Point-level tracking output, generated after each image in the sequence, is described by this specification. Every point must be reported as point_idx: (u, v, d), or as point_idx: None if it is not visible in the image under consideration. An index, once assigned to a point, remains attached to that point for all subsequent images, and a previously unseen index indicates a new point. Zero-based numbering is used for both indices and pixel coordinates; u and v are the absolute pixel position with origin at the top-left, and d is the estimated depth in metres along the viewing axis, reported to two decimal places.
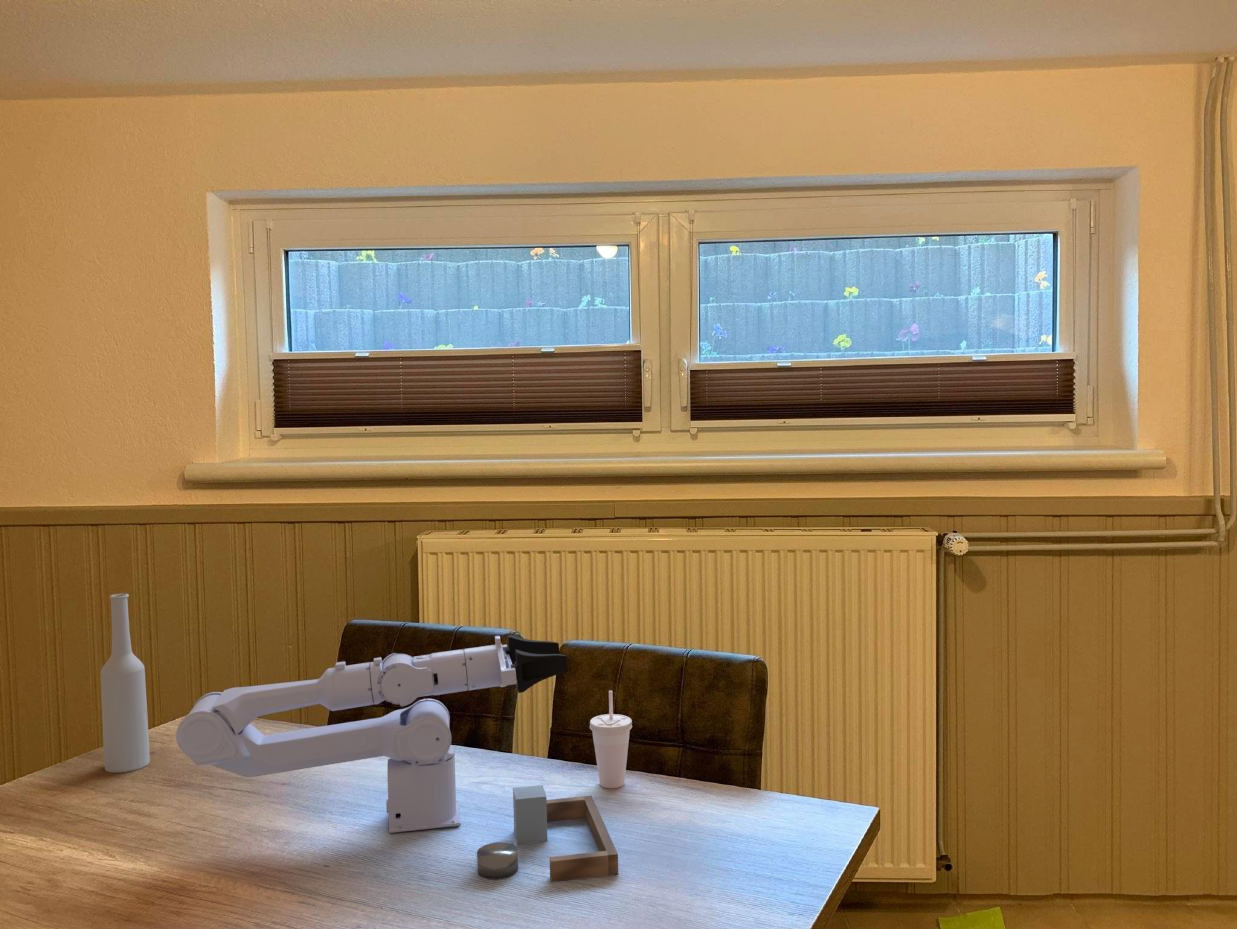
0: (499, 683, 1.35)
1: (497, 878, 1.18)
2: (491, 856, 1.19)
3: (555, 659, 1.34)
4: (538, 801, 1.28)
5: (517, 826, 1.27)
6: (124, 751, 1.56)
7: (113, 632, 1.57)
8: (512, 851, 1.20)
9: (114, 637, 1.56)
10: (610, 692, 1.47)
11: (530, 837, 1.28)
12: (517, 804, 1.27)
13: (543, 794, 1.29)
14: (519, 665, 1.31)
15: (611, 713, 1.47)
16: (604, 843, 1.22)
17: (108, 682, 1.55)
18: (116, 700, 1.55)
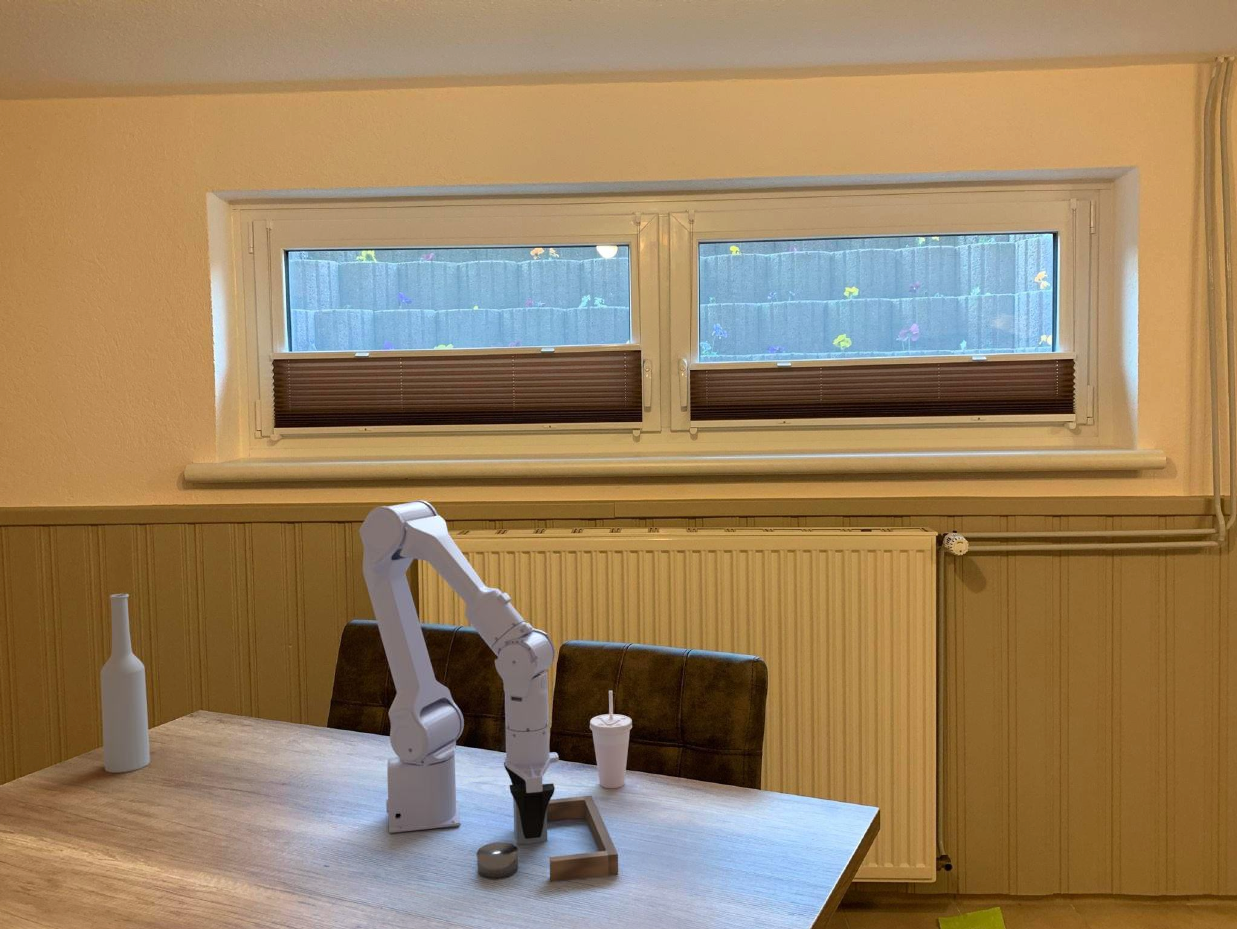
0: (513, 762, 1.27)
1: (497, 878, 1.18)
2: (491, 856, 1.19)
3: (538, 826, 1.26)
4: None
5: (517, 826, 1.27)
6: (124, 751, 1.56)
7: (113, 632, 1.57)
8: (512, 851, 1.20)
9: (114, 637, 1.56)
10: (610, 692, 1.47)
11: None
12: None
13: None
14: (542, 792, 1.24)
15: (611, 713, 1.47)
16: (604, 843, 1.22)
17: (108, 682, 1.55)
18: (116, 700, 1.55)
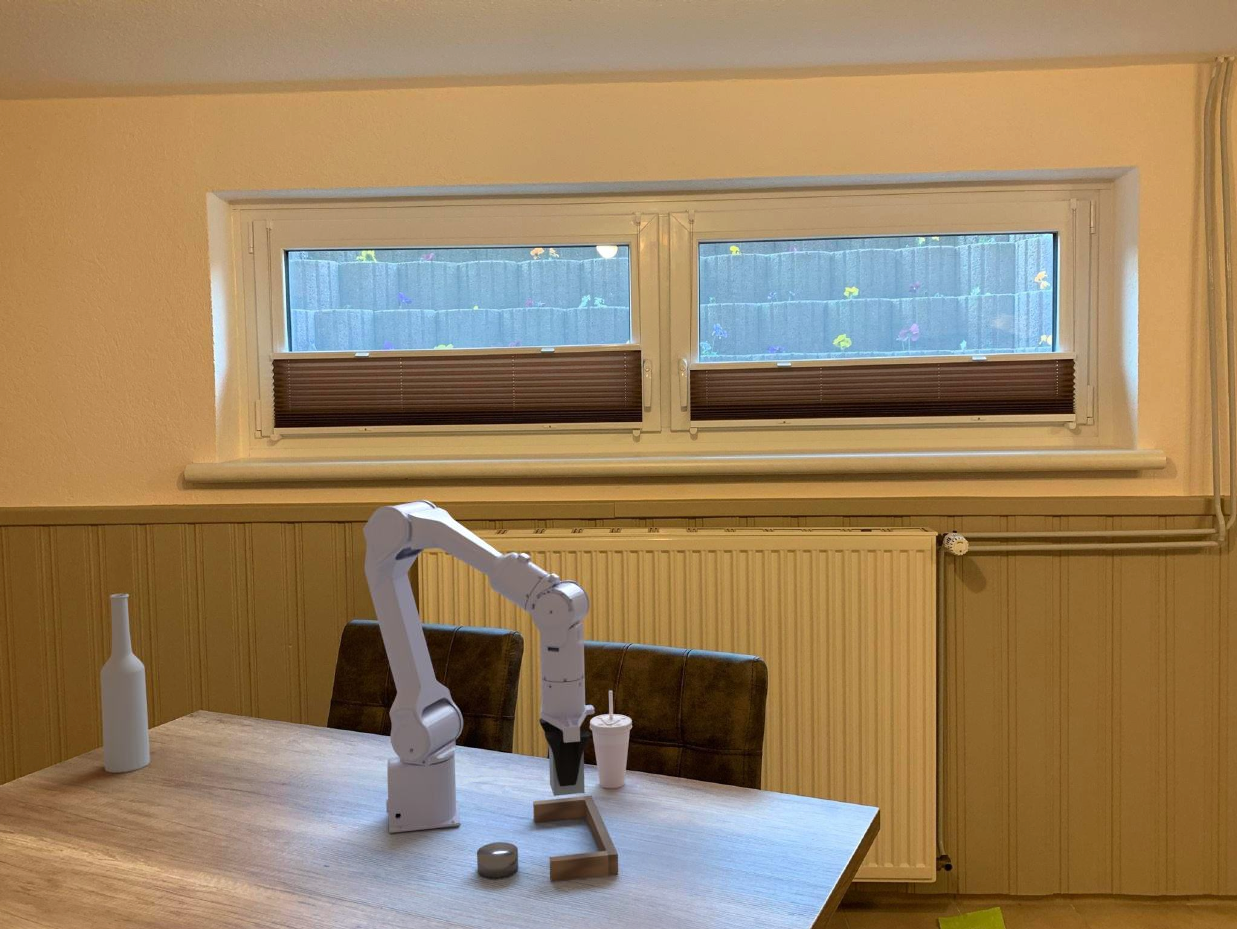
0: (549, 714, 1.25)
1: (497, 878, 1.18)
2: (491, 856, 1.19)
3: (573, 773, 1.26)
4: None
5: (554, 777, 1.26)
6: (124, 751, 1.56)
7: (113, 632, 1.57)
8: (512, 851, 1.20)
9: (114, 637, 1.56)
10: (610, 692, 1.47)
11: (567, 789, 1.26)
12: None
13: None
14: None
15: (611, 713, 1.47)
16: (604, 843, 1.22)
17: (108, 682, 1.55)
18: (116, 700, 1.55)
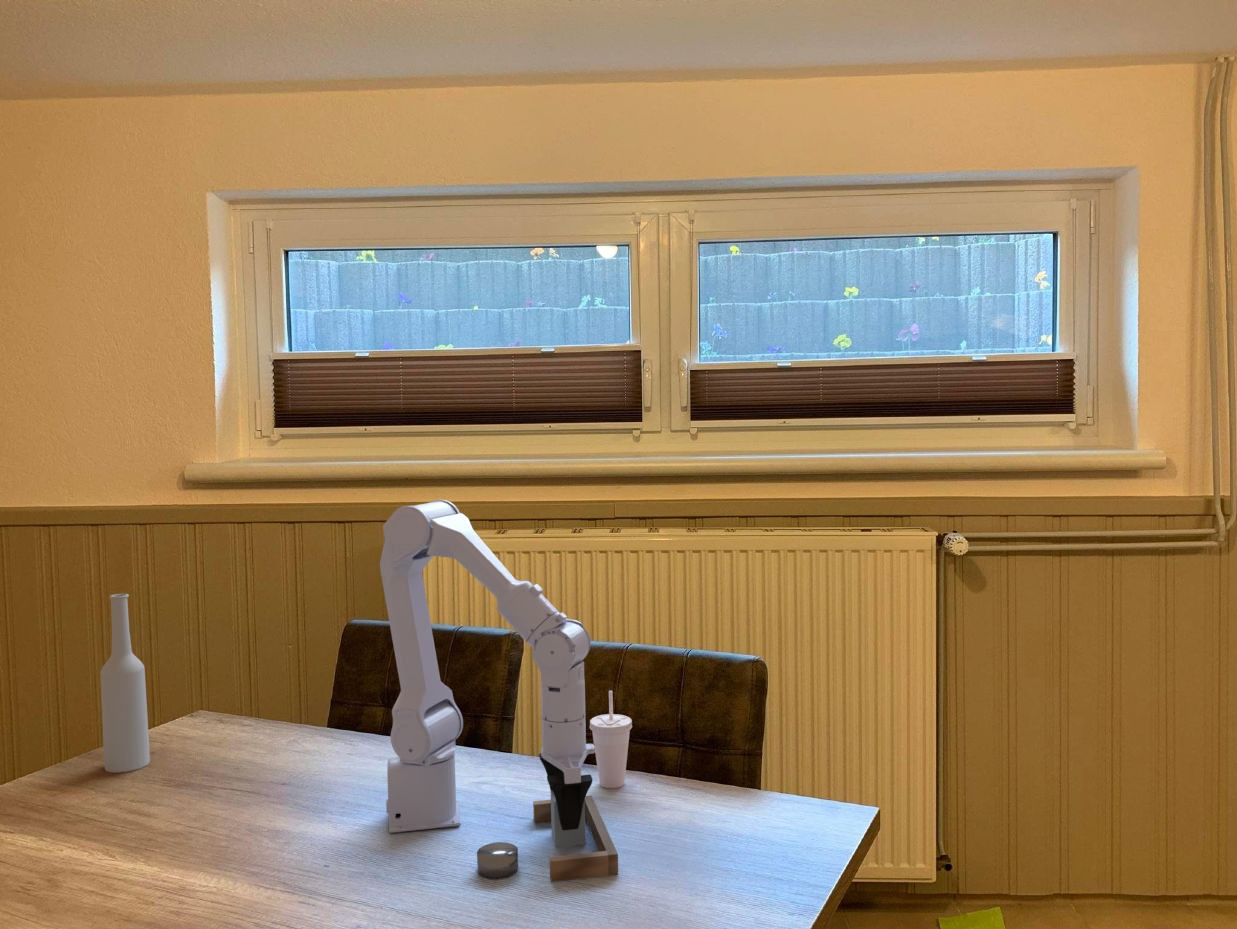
0: (550, 754, 1.26)
1: (497, 878, 1.18)
2: (491, 856, 1.19)
3: (576, 817, 1.25)
4: None
5: (555, 828, 1.26)
6: (124, 751, 1.56)
7: (113, 632, 1.57)
8: (512, 851, 1.20)
9: (114, 637, 1.56)
10: (610, 692, 1.47)
11: (568, 840, 1.27)
12: (555, 806, 1.26)
13: None
14: (580, 783, 1.23)
15: (611, 713, 1.47)
16: (604, 843, 1.22)
17: (108, 682, 1.55)
18: (116, 700, 1.55)
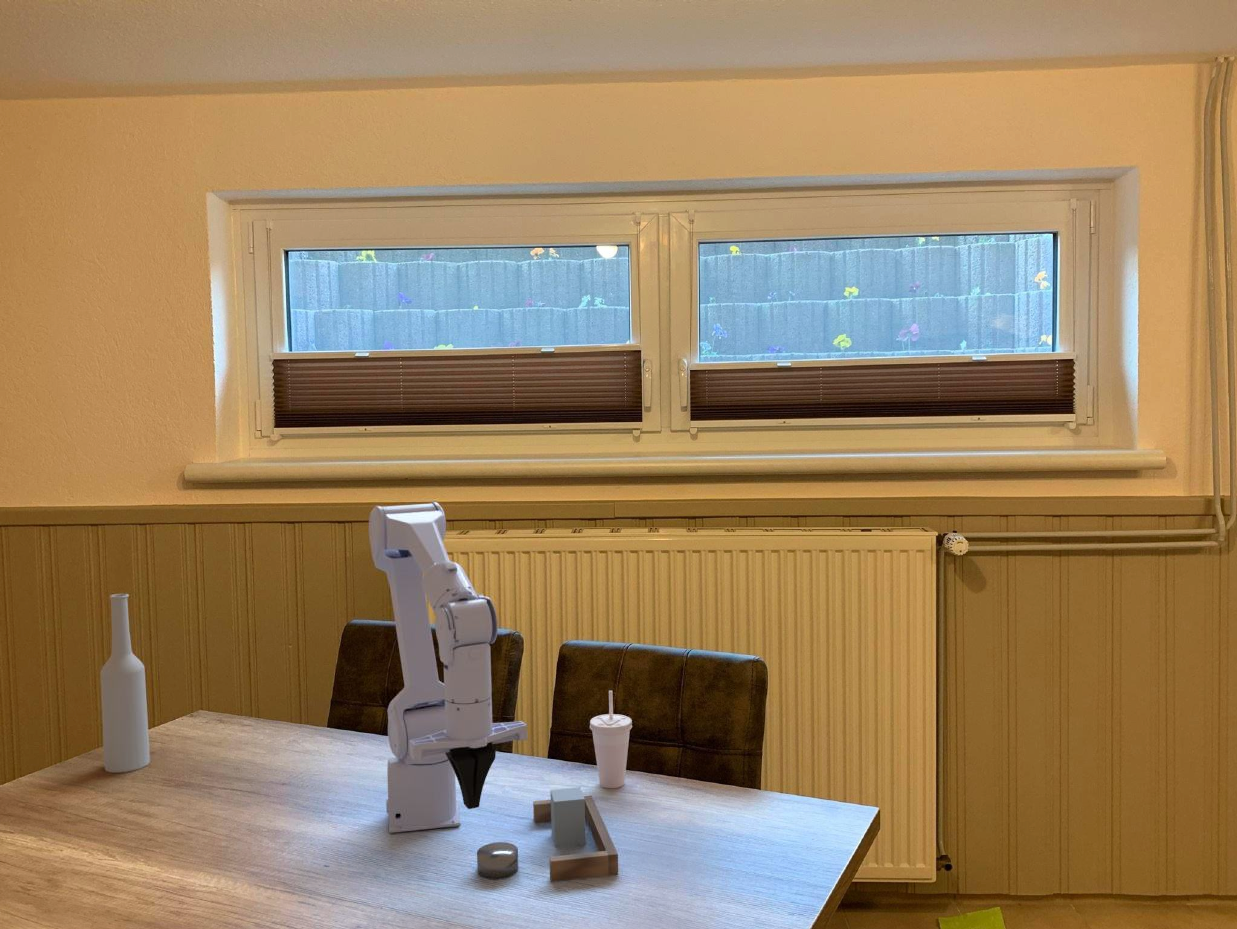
0: None
1: (497, 878, 1.18)
2: (491, 856, 1.19)
3: (466, 796, 1.20)
4: (576, 804, 1.27)
5: (555, 829, 1.26)
6: (124, 751, 1.55)
7: (113, 632, 1.57)
8: (512, 851, 1.20)
9: (114, 637, 1.56)
10: (610, 692, 1.47)
11: (568, 840, 1.27)
12: (555, 806, 1.26)
13: (581, 796, 1.28)
14: (452, 759, 1.18)
15: (611, 713, 1.47)
16: (604, 843, 1.22)
17: (108, 682, 1.55)
18: (116, 700, 1.55)
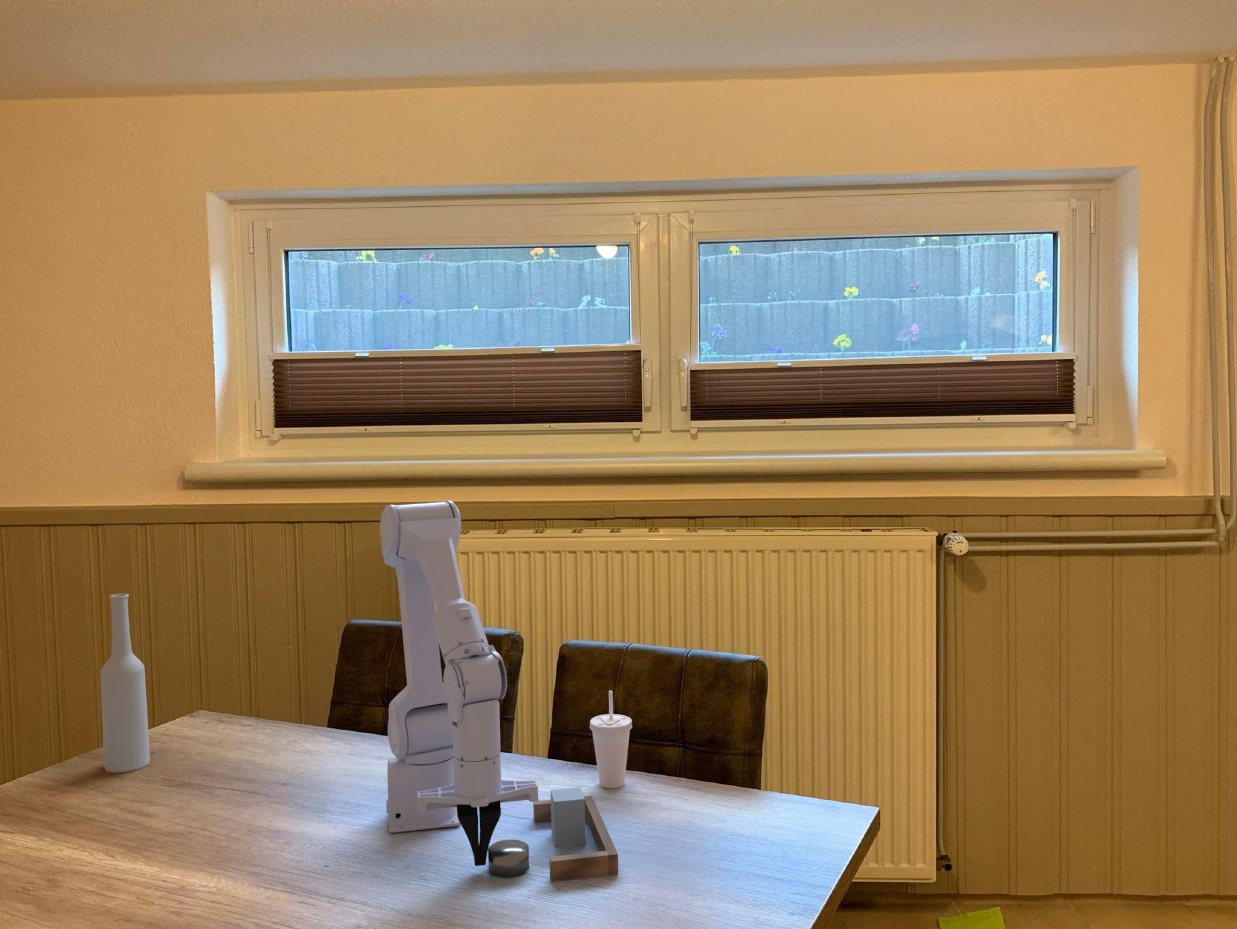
0: None
1: (508, 875, 1.18)
2: (502, 853, 1.19)
3: None
4: (576, 804, 1.27)
5: (555, 828, 1.26)
6: (124, 751, 1.55)
7: (113, 632, 1.57)
8: (523, 848, 1.20)
9: (114, 637, 1.56)
10: (610, 692, 1.47)
11: (568, 840, 1.27)
12: (555, 806, 1.26)
13: (581, 796, 1.28)
14: None
15: (611, 713, 1.47)
16: (604, 843, 1.22)
17: (108, 682, 1.55)
18: (116, 700, 1.55)
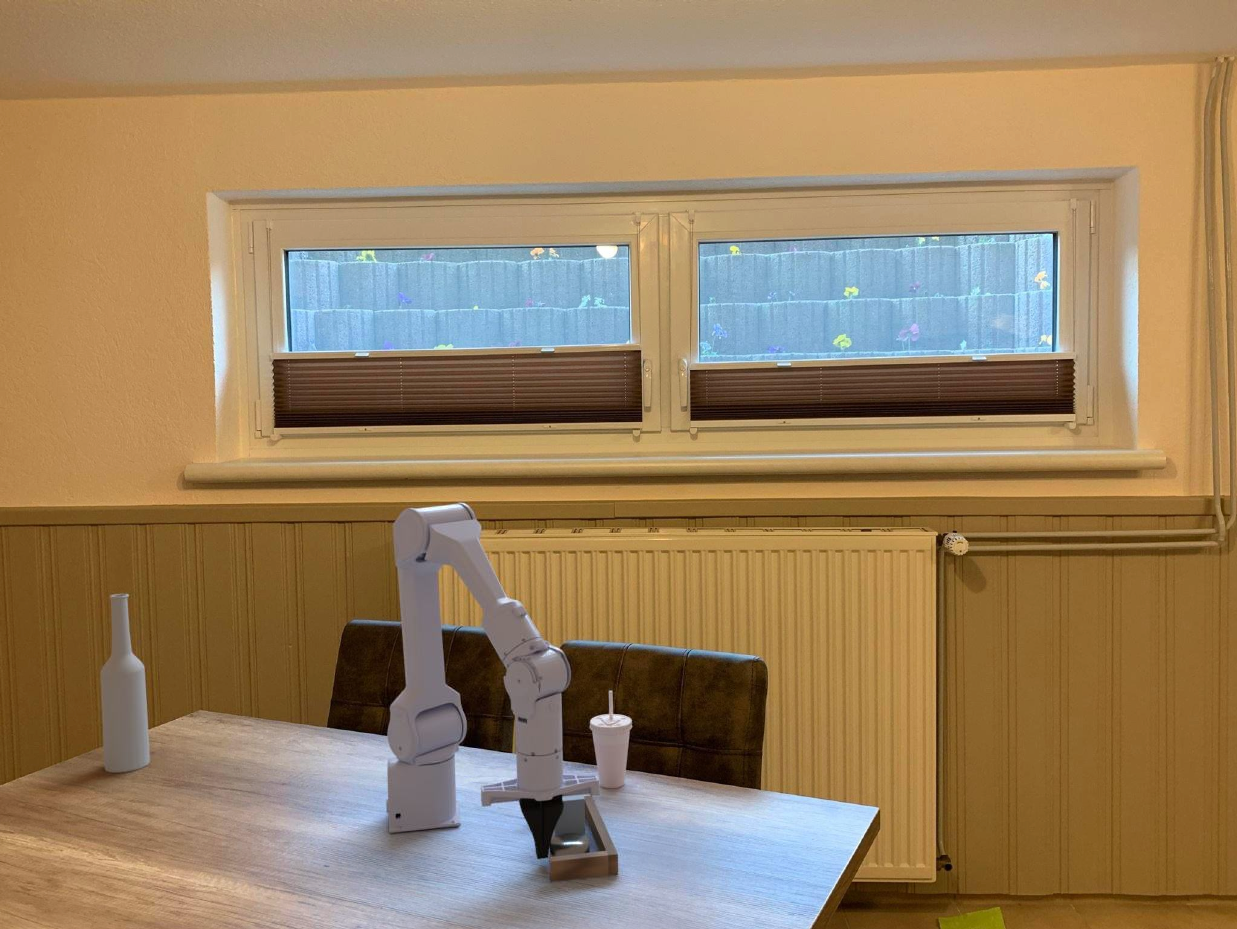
0: None
1: None
2: (564, 846, 1.21)
3: (536, 846, 1.20)
4: (576, 804, 1.27)
5: (555, 828, 1.26)
6: (124, 751, 1.55)
7: (113, 632, 1.57)
8: (584, 841, 1.22)
9: (114, 637, 1.56)
10: (610, 692, 1.47)
11: None
12: None
13: (581, 796, 1.28)
14: None
15: (611, 713, 1.47)
16: (604, 843, 1.22)
17: (108, 682, 1.55)
18: (116, 700, 1.55)
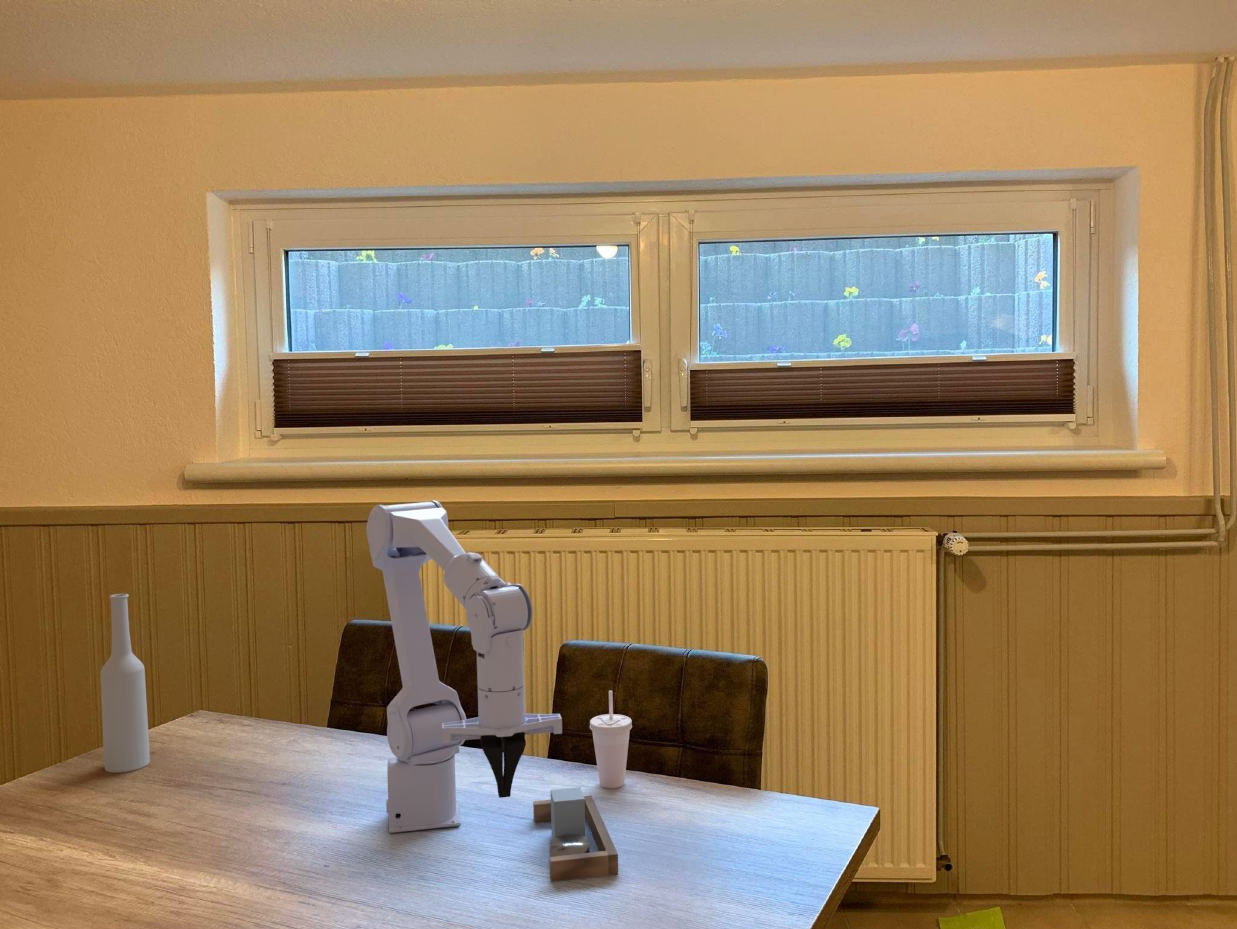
0: None
1: None
2: (563, 848, 1.21)
3: None
4: (576, 804, 1.27)
5: (555, 828, 1.26)
6: (124, 751, 1.55)
7: (113, 632, 1.57)
8: (584, 843, 1.22)
9: (114, 637, 1.56)
10: (610, 692, 1.47)
11: None
12: (555, 806, 1.26)
13: (581, 796, 1.28)
14: None
15: (611, 713, 1.47)
16: (604, 843, 1.22)
17: (108, 682, 1.55)
18: (116, 700, 1.55)
